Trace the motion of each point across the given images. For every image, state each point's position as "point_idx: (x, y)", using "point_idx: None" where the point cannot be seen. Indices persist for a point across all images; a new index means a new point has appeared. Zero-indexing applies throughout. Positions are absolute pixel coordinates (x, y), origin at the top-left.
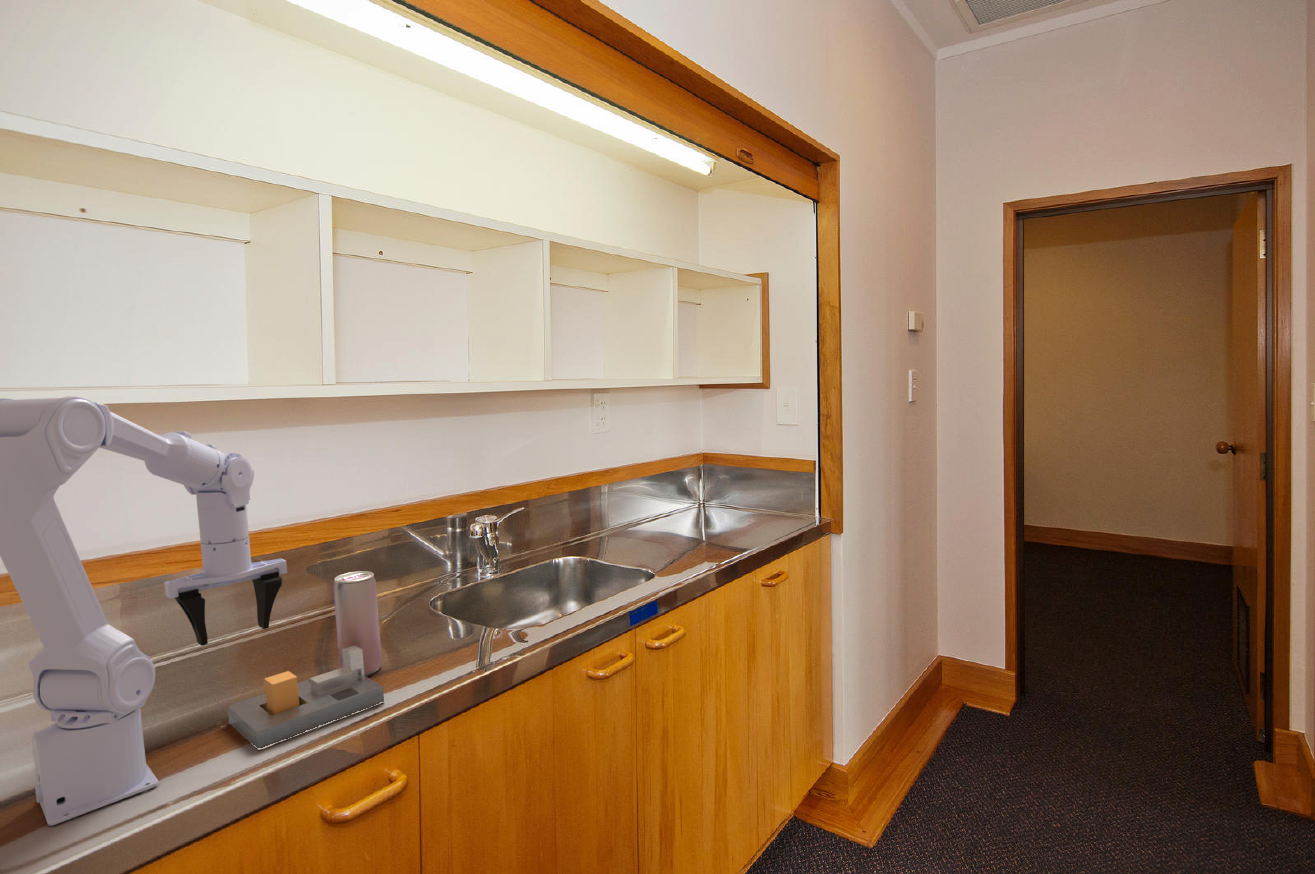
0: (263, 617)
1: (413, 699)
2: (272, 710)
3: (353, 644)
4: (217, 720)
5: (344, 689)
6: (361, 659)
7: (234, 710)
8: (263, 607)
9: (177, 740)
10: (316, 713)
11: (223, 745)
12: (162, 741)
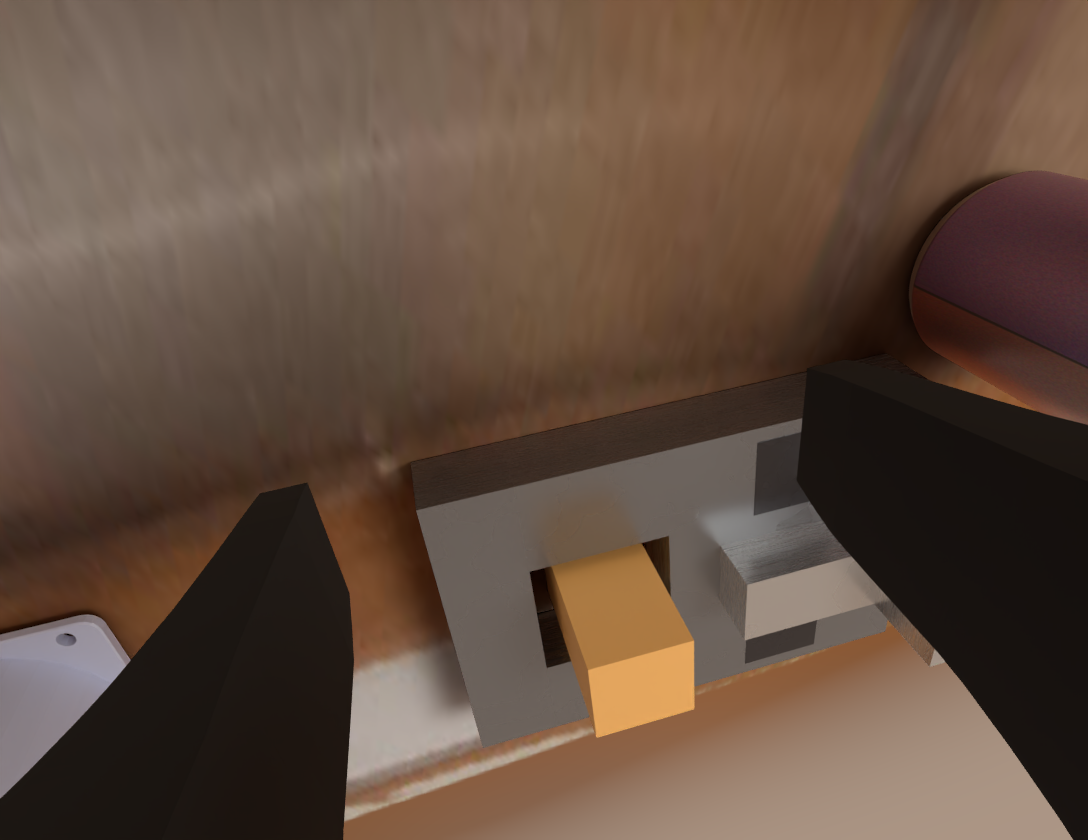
0: (868, 558)
1: None
2: (561, 619)
3: None
4: (366, 399)
5: None
6: None
7: (438, 567)
8: (953, 631)
9: (209, 495)
10: None
11: (380, 614)
12: (142, 471)
